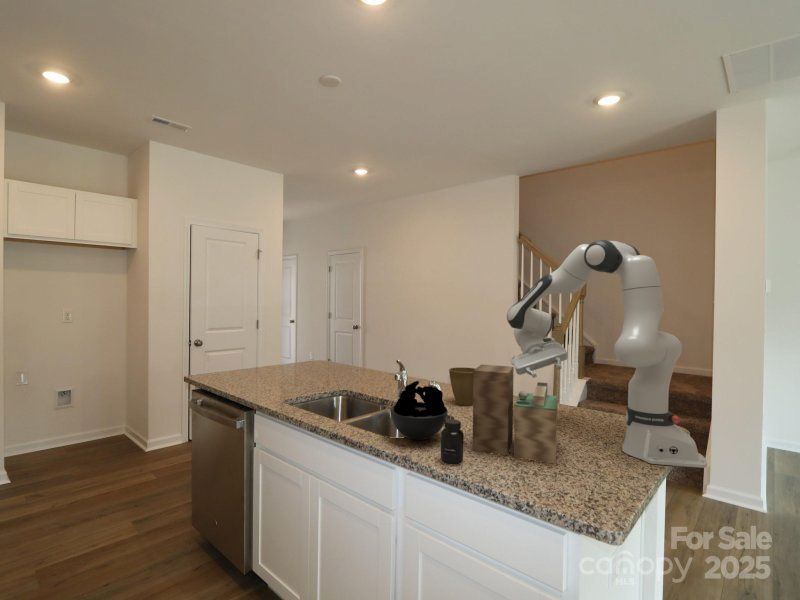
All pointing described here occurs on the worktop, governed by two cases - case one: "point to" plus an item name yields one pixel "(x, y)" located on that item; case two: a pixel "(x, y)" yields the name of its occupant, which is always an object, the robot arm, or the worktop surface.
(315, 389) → the worktop surface
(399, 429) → the bowl of black rocks
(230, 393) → the worktop surface
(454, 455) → the supplement bottle
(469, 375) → the plant pot
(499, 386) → the walnut stand
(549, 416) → the green topped wooden block
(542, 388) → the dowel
